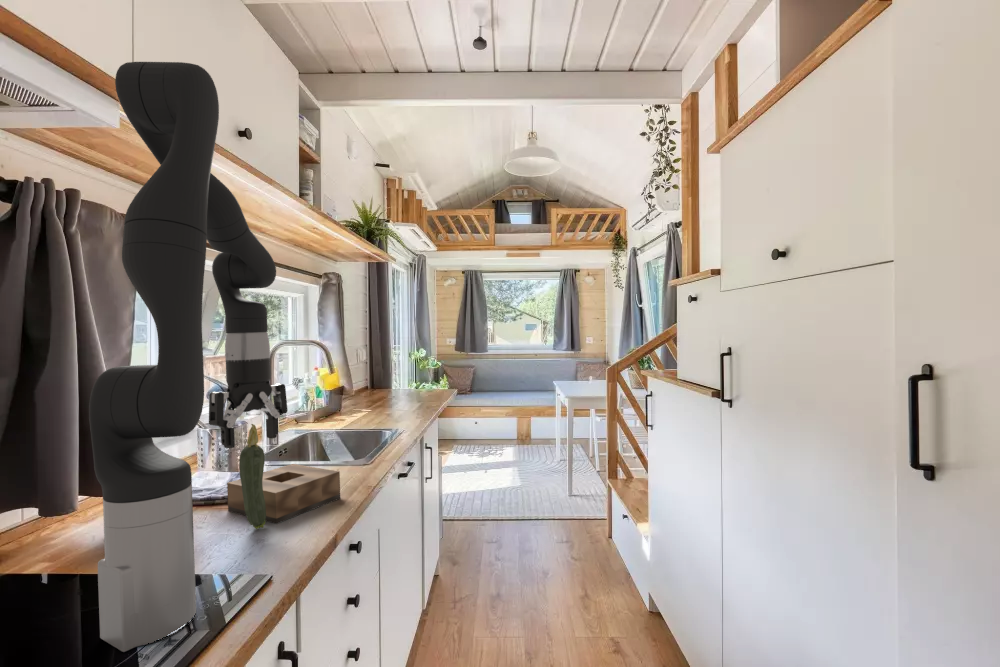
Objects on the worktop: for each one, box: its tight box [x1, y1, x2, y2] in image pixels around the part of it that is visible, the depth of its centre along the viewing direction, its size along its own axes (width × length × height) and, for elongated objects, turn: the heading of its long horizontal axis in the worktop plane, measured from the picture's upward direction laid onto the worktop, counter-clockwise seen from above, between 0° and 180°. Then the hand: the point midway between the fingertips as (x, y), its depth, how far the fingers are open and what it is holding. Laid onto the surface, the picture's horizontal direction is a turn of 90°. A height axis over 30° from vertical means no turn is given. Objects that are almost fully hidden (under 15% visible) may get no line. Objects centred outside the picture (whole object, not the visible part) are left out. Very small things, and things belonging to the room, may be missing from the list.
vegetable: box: [238, 423, 266, 530], centre depth 93 cm, size 4×4×20 cm
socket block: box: [226, 463, 341, 525], centre depth 106 cm, size 16×16×6 cm
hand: (251, 442), depth 93 cm, fingers open, 8 cm apart
